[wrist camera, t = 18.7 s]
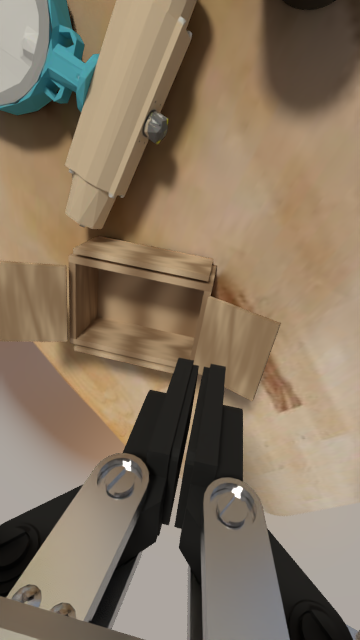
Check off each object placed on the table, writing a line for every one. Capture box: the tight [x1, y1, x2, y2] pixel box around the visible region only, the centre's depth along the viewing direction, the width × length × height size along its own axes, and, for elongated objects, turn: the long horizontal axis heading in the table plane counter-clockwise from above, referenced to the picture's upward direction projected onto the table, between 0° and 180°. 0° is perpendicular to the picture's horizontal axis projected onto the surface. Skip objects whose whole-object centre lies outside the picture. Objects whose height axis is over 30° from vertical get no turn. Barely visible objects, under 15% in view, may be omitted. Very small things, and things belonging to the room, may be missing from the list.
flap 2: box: [193, 296, 281, 401], centre depth 34 cm, size 1×10×8 cm
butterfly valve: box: [0, 0, 197, 229], centre depth 31 cm, size 27×7×30 cm
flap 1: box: [0, 261, 68, 342], centre depth 36 cm, size 1×10×8 cm
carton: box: [69, 236, 217, 373], centre depth 40 cm, size 17×14×8 cm
